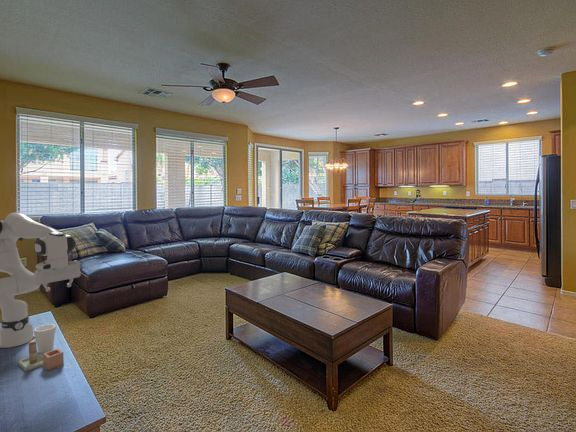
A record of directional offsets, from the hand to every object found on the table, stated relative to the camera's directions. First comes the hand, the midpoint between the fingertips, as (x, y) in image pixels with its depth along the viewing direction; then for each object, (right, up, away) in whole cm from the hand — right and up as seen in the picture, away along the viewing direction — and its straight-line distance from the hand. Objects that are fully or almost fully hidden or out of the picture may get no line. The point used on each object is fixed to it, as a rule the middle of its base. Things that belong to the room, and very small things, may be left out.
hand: (58, 288), depth 164 cm
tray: (-10, -37, -4) cm, 39 cm away
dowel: (-10, -37, -4) cm, 38 cm away
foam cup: (-14, -37, +9) cm, 40 cm away
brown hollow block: (+2, -38, -6) cm, 38 cm away
